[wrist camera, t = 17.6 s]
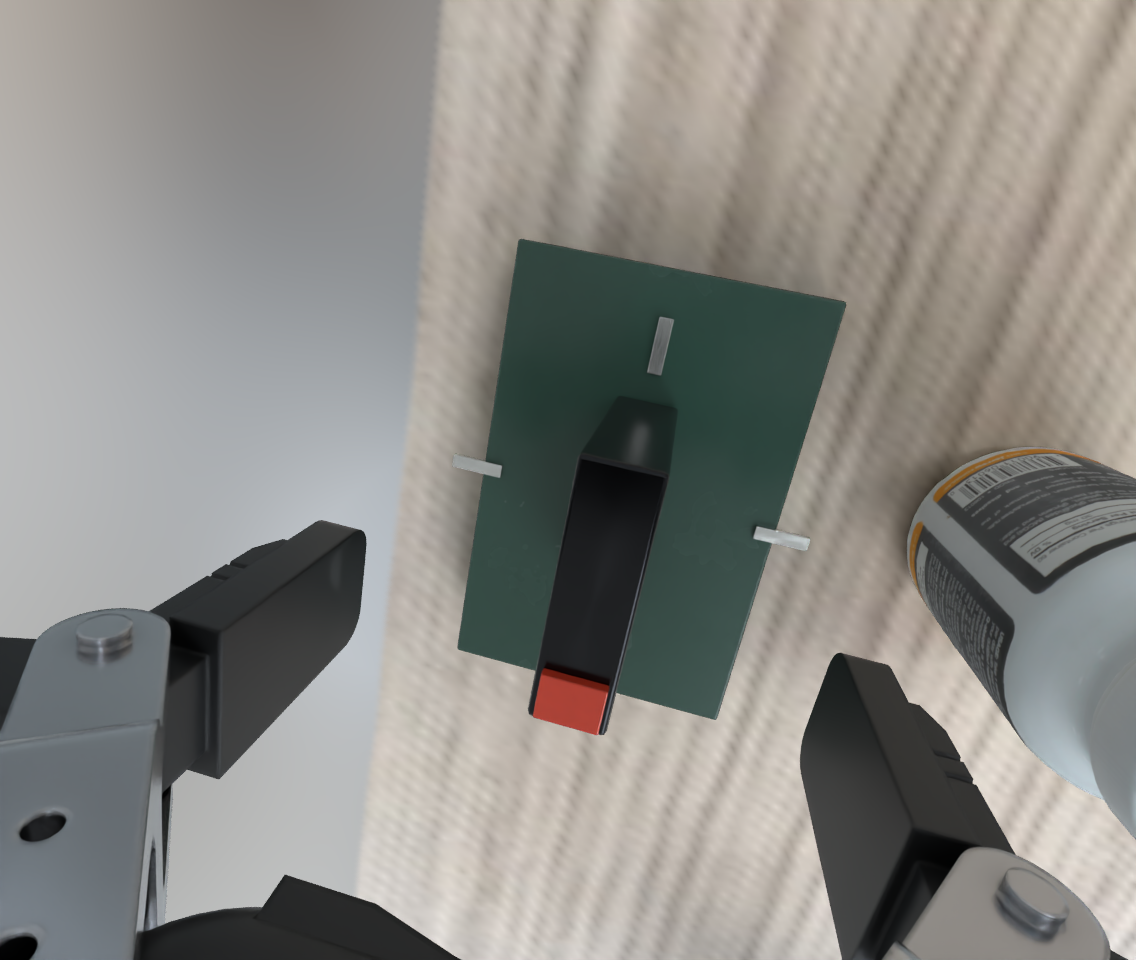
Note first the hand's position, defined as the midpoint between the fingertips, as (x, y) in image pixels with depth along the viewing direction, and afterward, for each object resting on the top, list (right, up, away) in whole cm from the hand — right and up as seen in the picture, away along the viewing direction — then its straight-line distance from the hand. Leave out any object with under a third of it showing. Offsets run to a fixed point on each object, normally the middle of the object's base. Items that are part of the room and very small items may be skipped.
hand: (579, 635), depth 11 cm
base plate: (+2, +3, +9) cm, 10 cm away
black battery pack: (+1, +2, +7) cm, 7 cm away
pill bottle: (+12, +1, +8) cm, 15 cm away
